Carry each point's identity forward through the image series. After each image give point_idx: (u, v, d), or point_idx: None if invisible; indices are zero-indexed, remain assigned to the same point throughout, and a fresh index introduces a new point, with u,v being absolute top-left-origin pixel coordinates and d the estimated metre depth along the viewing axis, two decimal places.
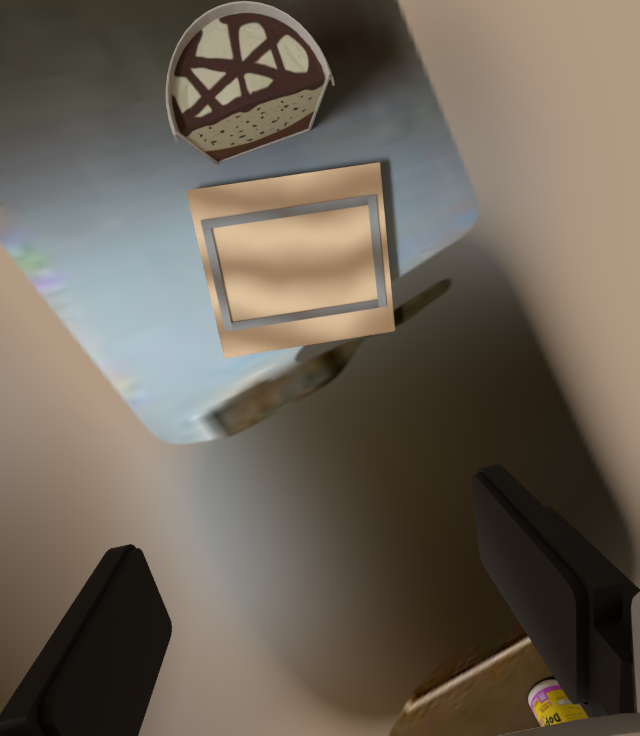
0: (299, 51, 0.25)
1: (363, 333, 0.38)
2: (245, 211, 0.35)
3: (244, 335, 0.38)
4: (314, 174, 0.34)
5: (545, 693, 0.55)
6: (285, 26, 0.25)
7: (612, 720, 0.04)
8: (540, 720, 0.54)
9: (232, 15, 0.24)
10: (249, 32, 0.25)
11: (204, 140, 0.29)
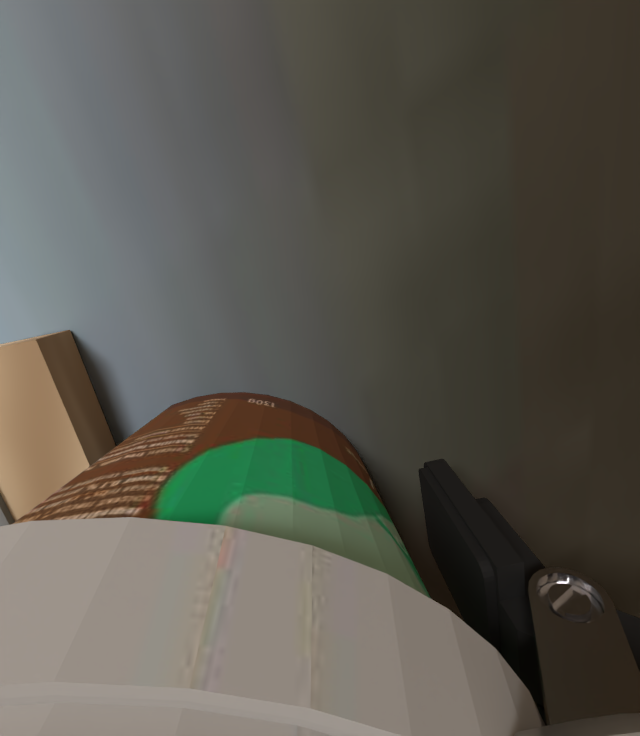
0: None
1: None
2: None
3: None
4: None
5: None
6: None
7: (612, 720, 0.04)
8: None
9: None
10: None
11: None
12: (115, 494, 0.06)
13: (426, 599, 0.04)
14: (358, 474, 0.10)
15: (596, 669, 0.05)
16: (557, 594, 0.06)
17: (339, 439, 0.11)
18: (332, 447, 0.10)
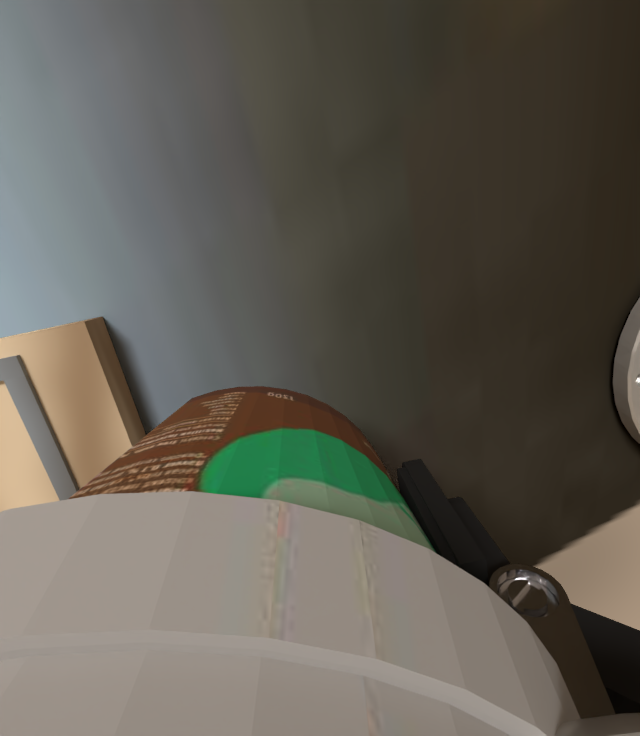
0: None
1: None
2: (69, 451, 0.15)
3: None
4: None
5: None
6: None
7: (612, 720, 0.04)
8: None
9: None
10: None
11: None
12: (158, 477, 0.06)
13: (464, 572, 0.05)
14: (377, 465, 0.10)
15: None
16: (516, 590, 0.07)
17: (356, 432, 0.12)
18: (351, 439, 0.10)
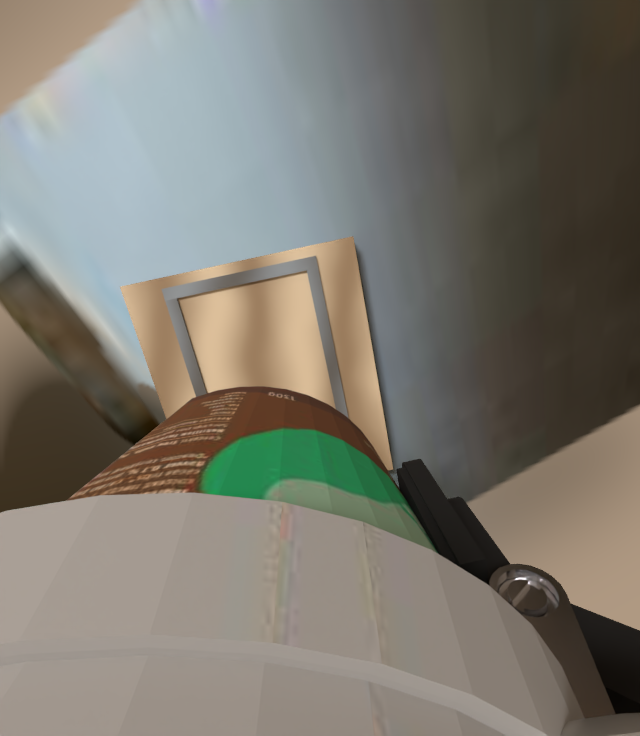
0: None
1: None
2: (331, 316, 0.26)
3: (160, 317, 0.25)
4: (378, 399, 0.28)
5: None
6: None
7: (612, 720, 0.04)
8: None
9: None
10: None
11: None
12: (159, 477, 0.06)
13: (468, 574, 0.05)
14: (379, 465, 0.10)
15: None
16: (516, 590, 0.07)
17: (357, 432, 0.12)
18: (353, 439, 0.10)
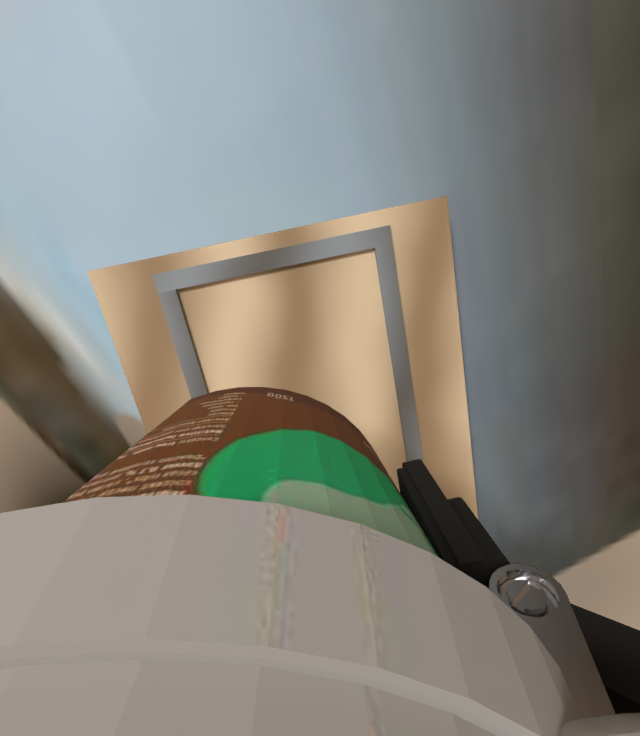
0: None
1: None
2: (407, 318, 0.17)
3: (150, 319, 0.17)
4: (466, 437, 0.19)
5: None
6: None
7: (612, 720, 0.04)
8: None
9: None
10: None
11: None
12: (156, 479, 0.06)
13: (466, 577, 0.04)
14: (378, 466, 0.10)
15: None
16: (515, 590, 0.07)
17: (356, 433, 0.11)
18: (352, 440, 0.10)
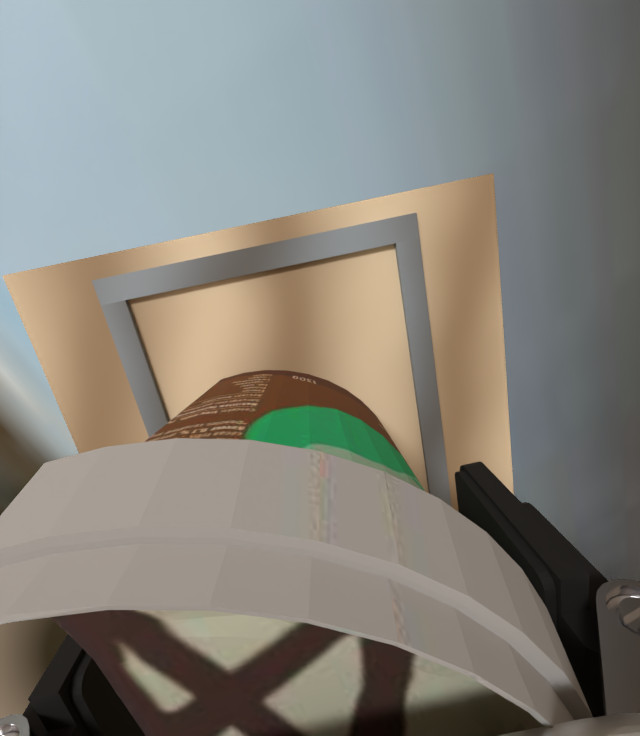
0: None
1: None
2: (436, 337, 0.13)
3: (92, 340, 0.12)
4: (508, 487, 0.15)
5: None
6: None
7: (612, 720, 0.04)
8: None
9: None
10: None
11: None
12: (208, 437, 0.07)
13: (469, 521, 0.05)
14: (392, 445, 0.11)
15: None
16: (630, 608, 0.06)
17: (372, 416, 0.12)
18: (369, 420, 0.11)
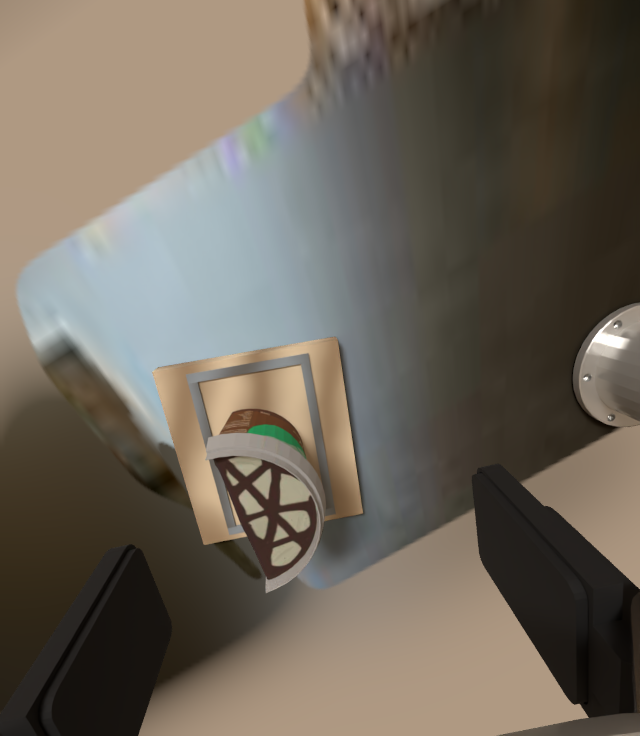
0: (288, 558, 0.27)
1: (198, 516, 0.35)
2: (318, 397, 0.33)
3: (183, 395, 0.32)
4: (352, 460, 0.35)
5: None
6: (307, 547, 0.26)
7: (612, 720, 0.04)
8: None
9: (314, 506, 0.26)
10: (302, 518, 0.26)
11: None
12: (237, 433, 0.27)
13: (296, 451, 0.26)
14: (294, 437, 0.31)
15: None
16: None
17: (291, 427, 0.33)
18: (287, 429, 0.31)
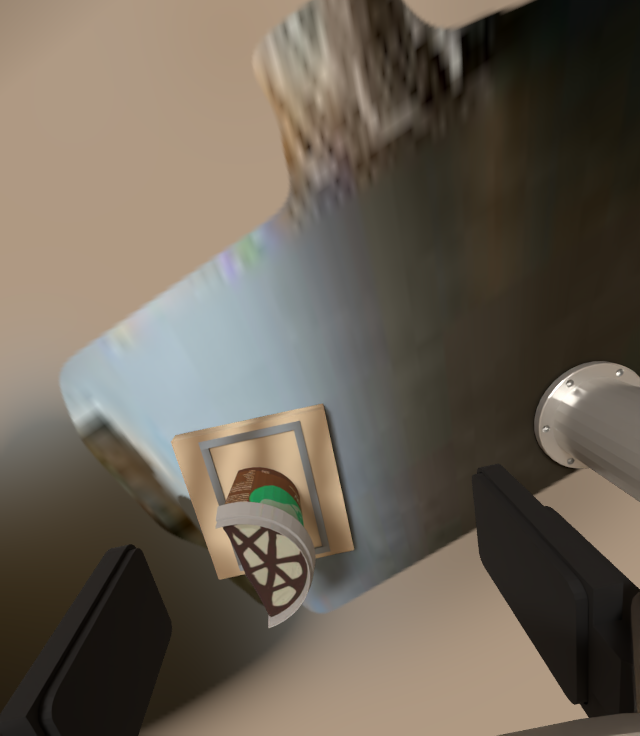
0: (286, 599, 0.33)
1: (213, 556, 0.42)
2: (310, 456, 0.39)
3: (196, 459, 0.38)
4: (342, 505, 0.41)
5: None
6: (301, 591, 0.32)
7: (612, 720, 0.04)
8: None
9: (304, 559, 0.31)
10: (295, 568, 0.32)
11: None
12: (241, 498, 0.33)
13: (289, 514, 0.32)
14: (290, 494, 0.37)
15: None
16: None
17: (288, 482, 0.39)
18: (284, 486, 0.37)
